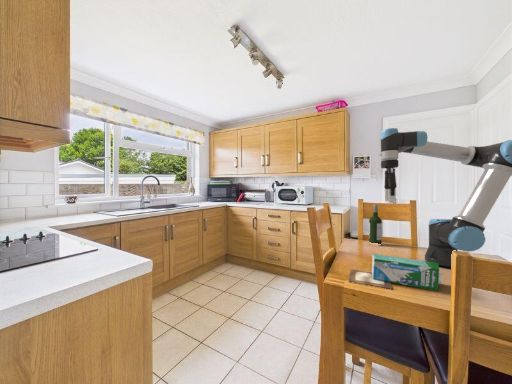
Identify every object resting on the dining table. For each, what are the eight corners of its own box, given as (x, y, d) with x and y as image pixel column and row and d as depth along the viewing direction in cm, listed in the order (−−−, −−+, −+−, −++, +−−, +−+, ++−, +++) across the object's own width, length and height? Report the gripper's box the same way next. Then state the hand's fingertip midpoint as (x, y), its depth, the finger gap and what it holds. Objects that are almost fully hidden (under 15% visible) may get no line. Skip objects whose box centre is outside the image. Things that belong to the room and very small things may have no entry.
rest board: (387, 276, 101) (387, 274, 101) (392, 290, 87) (392, 288, 87) (350, 270, 108) (350, 268, 108) (348, 283, 94) (349, 280, 94)
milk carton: (374, 258, 95) (446, 269, 85) (372, 253, 104) (438, 263, 93) (373, 279, 96) (445, 292, 85) (371, 272, 104) (437, 284, 93)
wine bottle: (371, 244, 162) (371, 204, 162) (383, 246, 156) (383, 204, 156) (367, 246, 157) (367, 204, 156) (379, 248, 151) (379, 205, 151)
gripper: (378, 163, 123) (378, 200, 123) (384, 157, 100) (384, 203, 100) (394, 162, 120) (394, 200, 120) (403, 155, 97) (404, 203, 97)
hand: (390, 202), depth 110 cm, fingers open, 13 cm apart
